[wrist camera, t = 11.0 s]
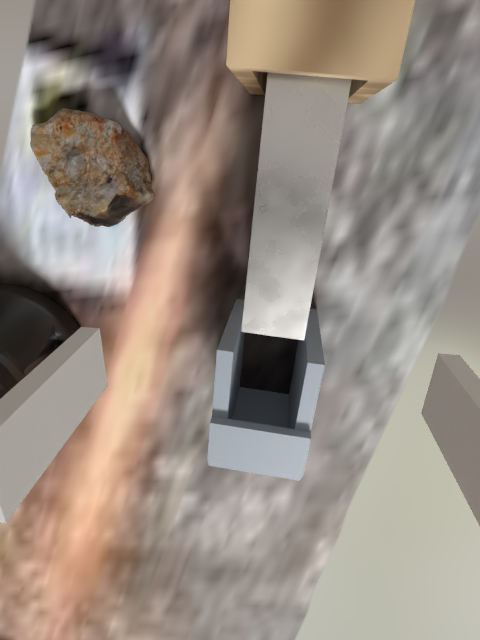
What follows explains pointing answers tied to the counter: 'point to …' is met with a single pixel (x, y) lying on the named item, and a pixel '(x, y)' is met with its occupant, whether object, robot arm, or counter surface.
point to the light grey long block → (292, 199)
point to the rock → (92, 166)
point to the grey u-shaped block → (264, 407)
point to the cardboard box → (319, 41)
